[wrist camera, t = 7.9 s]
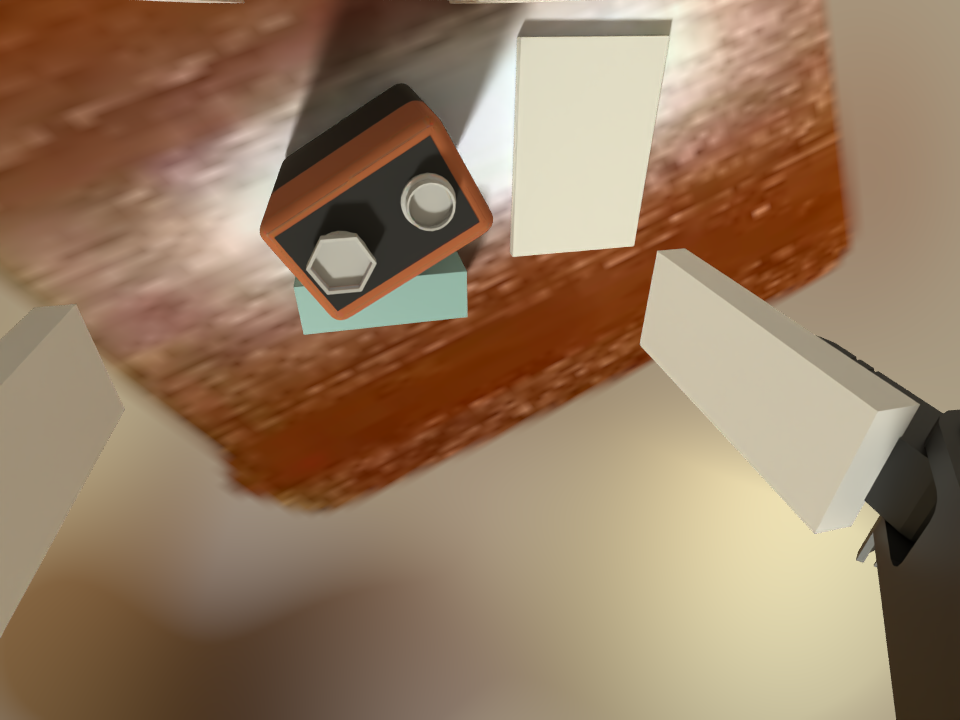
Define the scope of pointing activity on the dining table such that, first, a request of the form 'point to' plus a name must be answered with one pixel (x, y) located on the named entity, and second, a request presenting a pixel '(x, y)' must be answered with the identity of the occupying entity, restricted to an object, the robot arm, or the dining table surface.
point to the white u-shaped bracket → (452, 1)
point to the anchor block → (397, 301)
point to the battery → (373, 203)
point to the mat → (582, 140)
